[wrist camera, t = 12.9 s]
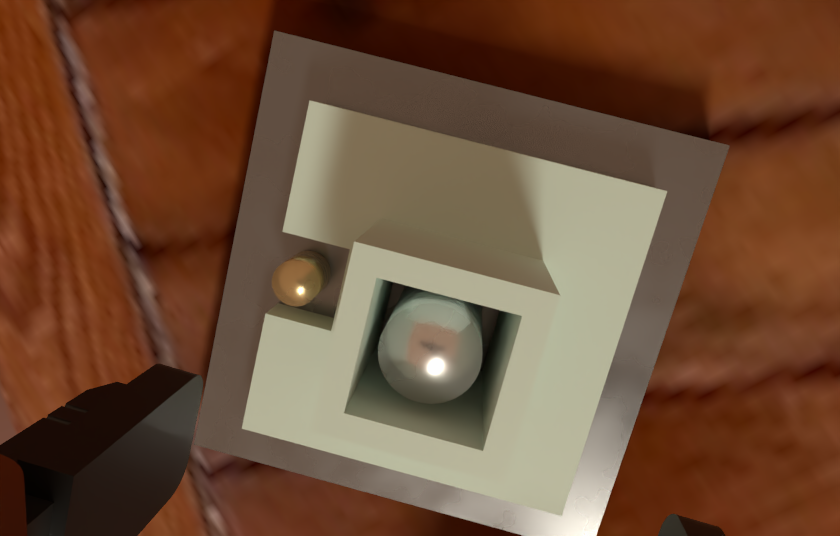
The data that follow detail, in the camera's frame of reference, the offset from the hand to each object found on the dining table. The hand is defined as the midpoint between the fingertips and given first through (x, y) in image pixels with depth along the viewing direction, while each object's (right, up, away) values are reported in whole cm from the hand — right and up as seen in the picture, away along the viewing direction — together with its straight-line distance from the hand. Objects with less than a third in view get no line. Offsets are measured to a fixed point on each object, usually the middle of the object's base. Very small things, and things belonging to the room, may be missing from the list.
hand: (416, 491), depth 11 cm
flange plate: (+1, +2, +13) cm, 14 cm away
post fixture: (+1, +3, +15) cm, 16 cm away
